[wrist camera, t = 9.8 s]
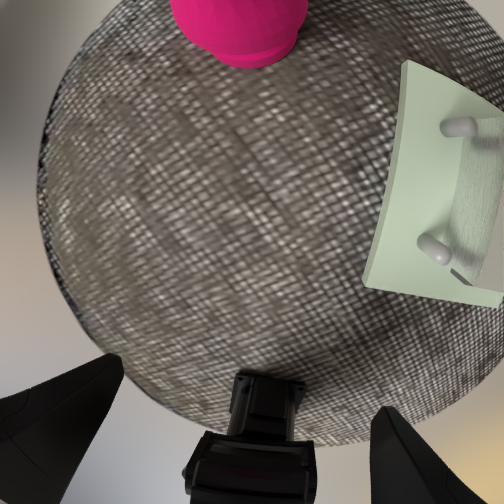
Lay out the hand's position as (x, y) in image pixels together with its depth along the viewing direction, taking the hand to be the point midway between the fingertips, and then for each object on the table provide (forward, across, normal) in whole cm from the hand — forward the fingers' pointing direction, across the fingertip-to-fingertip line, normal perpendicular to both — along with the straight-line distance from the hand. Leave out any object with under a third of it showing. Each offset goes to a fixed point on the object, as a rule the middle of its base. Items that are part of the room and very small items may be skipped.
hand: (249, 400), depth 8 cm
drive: (+11, -14, -8) cm, 19 cm away
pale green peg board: (+12, -14, -8) cm, 20 cm away
